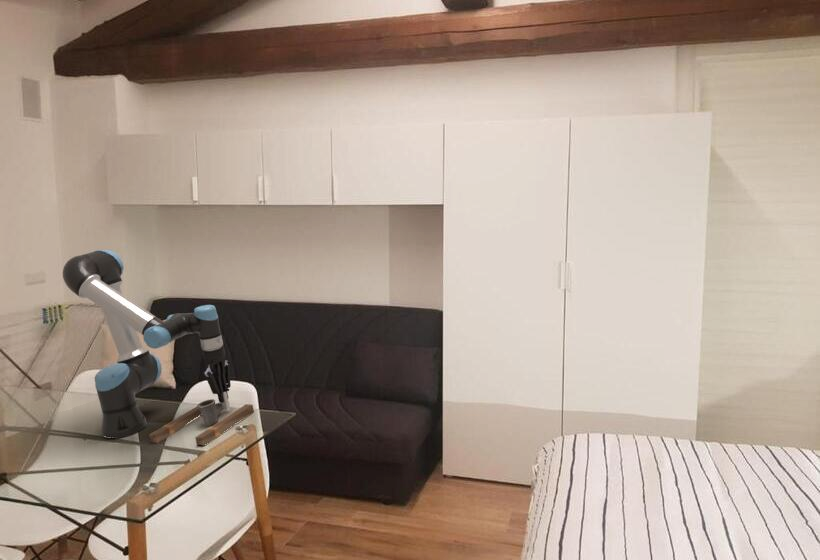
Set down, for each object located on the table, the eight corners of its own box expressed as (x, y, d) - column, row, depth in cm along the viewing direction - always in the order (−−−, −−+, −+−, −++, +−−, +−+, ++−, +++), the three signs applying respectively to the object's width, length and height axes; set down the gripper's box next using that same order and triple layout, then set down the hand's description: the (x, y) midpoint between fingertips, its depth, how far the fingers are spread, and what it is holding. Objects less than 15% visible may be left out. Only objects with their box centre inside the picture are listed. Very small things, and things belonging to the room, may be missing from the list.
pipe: (227, 412, 243) (223, 392, 241) (214, 427, 230) (210, 405, 229) (211, 414, 244) (207, 394, 242) (198, 429, 231) (193, 407, 230)
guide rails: (151, 442, 225) (149, 434, 224) (204, 410, 249) (202, 402, 248) (204, 446, 215) (202, 437, 215) (254, 412, 240) (252, 404, 239)
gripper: (209, 353, 231) (222, 416, 236) (232, 342, 243) (244, 402, 247) (192, 354, 234) (206, 416, 239) (216, 342, 246) (228, 401, 250)
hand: (225, 409), depth 243 cm, fingers closed
